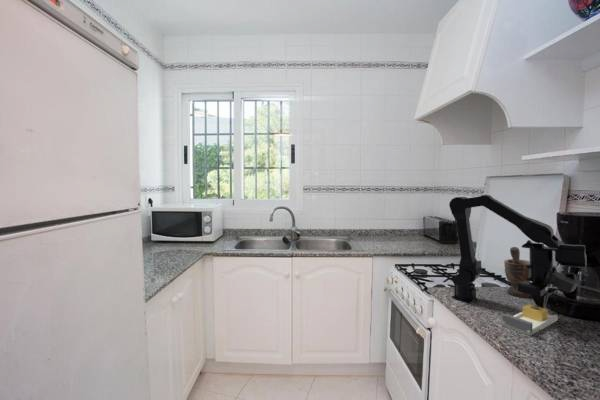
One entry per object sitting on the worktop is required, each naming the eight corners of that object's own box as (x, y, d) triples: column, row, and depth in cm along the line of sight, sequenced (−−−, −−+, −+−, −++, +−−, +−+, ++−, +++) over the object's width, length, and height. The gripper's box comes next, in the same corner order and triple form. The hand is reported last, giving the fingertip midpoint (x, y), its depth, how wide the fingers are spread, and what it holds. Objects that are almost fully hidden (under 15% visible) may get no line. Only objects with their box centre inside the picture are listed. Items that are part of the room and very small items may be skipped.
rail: (502, 325, 85) (502, 314, 85) (530, 312, 94) (530, 302, 94) (529, 336, 79) (529, 324, 79) (557, 320, 88) (557, 309, 88)
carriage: (522, 316, 89) (522, 304, 89) (528, 313, 91) (528, 301, 91) (541, 322, 85) (541, 310, 85) (547, 319, 87) (547, 307, 86)
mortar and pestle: (538, 302, 101) (537, 248, 100) (509, 299, 105) (508, 247, 104) (528, 292, 111) (528, 243, 110) (502, 289, 115) (502, 241, 114)
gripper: (561, 273, 78) (561, 328, 78) (586, 263, 87) (586, 312, 87) (515, 265, 88) (515, 313, 88) (542, 256, 96) (542, 300, 97)
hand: (541, 309), depth 90 cm, fingers closed
